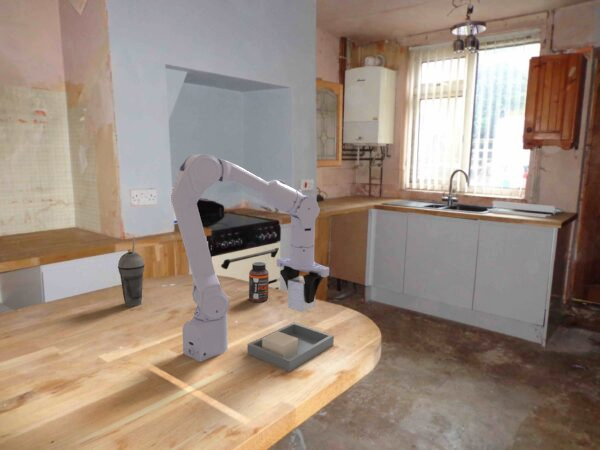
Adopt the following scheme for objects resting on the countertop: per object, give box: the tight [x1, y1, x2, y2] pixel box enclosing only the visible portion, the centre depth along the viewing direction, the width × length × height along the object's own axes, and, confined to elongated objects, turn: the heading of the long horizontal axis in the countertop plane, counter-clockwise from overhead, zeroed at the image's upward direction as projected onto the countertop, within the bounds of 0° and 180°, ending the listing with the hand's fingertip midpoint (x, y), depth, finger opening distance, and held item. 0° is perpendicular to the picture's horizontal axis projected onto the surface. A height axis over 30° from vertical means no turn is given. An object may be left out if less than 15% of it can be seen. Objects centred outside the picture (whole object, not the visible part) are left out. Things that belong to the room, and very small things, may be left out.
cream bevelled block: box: [261, 330, 298, 359], centre depth 93 cm, size 5×6×4 cm
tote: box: [247, 322, 335, 373], centre depth 96 cm, size 16×12×3 cm
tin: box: [287, 275, 316, 313], centre depth 103 cm, size 5×5×7 cm
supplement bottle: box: [248, 261, 270, 303], centre depth 129 cm, size 6×6×11 cm
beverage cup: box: [117, 236, 146, 308], centre depth 123 cm, size 7×7×20 cm
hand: (301, 299), depth 103 cm, fingers closed on tin, 5 cm apart
